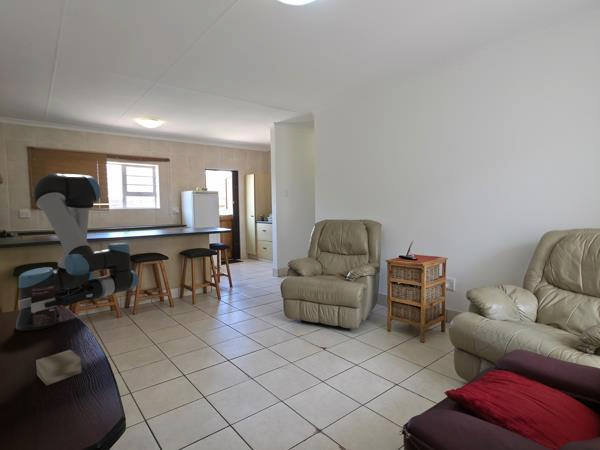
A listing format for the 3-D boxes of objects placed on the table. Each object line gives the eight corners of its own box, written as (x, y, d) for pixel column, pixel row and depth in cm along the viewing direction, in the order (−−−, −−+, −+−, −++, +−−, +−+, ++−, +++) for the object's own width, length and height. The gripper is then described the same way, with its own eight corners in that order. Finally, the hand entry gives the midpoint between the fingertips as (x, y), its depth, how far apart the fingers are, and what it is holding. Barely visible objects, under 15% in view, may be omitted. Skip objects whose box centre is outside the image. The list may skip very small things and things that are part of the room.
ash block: (71, 364, 110) (70, 349, 109) (81, 373, 104) (80, 357, 104) (37, 375, 103) (36, 360, 102) (46, 386, 97) (45, 369, 97)
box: (32, 328, 106) (29, 291, 105) (34, 324, 109) (31, 288, 108) (56, 324, 109) (53, 288, 108) (56, 320, 113) (54, 285, 112)
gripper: (115, 301, 121) (44, 323, 100) (81, 294, 129) (9, 313, 108) (114, 281, 120) (42, 298, 99) (80, 275, 128) (7, 290, 108)
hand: (25, 306), depth 104 cm, fingers closed on box, 6 cm apart
